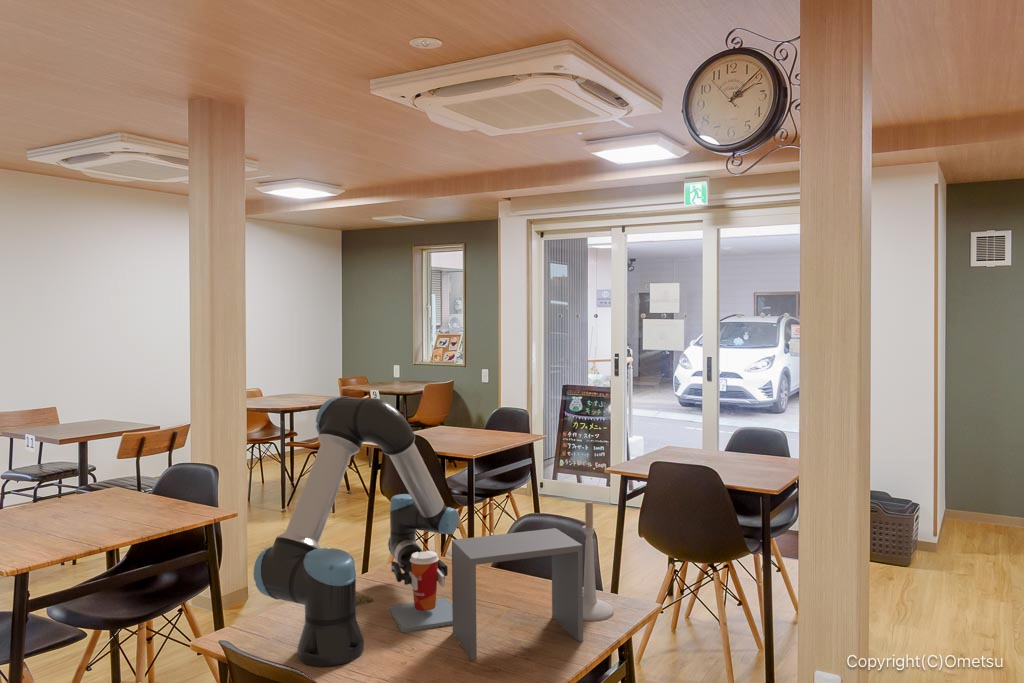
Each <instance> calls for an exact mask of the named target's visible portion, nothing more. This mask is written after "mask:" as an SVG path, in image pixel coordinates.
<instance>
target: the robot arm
mask: <svg viewBox="0 0 1024 683" xmlns="http://www.w3.org/2000/svg"><path fill="white" fill-rule="evenodd" d="M315 423H316V424H315V427H316V428H315V429H316V431H317V433H318V436H317V440H318V442H319V448H318V451H317V453H316V455H315V458H314V460H313V462H312V465H311V468H310V470H309V473H308V475H307V478H306V480H305V483H304V485H303V488H302V490H301V492H300V495H299V497H298V500H297V503H296V505H295V507H294V510H293V511H292V515H291V518H290V519H289V522H288V525H287V527H286V530H285V531H284V532H283V533H281V534H279V535H277V536H276V538H275V540H274V543H273V545H272V546H271V545H270V546H268V547H266V548H264V550H261V552H260V553H259V554H258V556H257V558H256V560H255V562H254V566H253V573H252V574H253V580H254V582H255V587H256V588H257V590H258V591H259V592H260V593H261V594H262V595H264V596H266V597H269V598H272V599H274V600H281V601H286V602H290V603H295V604H299V605H303V606H304V613H305V614H304V626H303V629H302V631H301V635H300V638H299V642H298V644H297V659H298V660H299V661H300V662H301V663H303V664H305V665H307V666H312V667H333V666H340V665H343V664H347V663H350V662H351V661H353V660H356V659H357V658H358V657H360V656H361V655H362V654H363V652H364V650H365V649H364V648H365V646H364V643H365V642H364V637H363V633H362V631H361V628H360V625H359V623H358V620H357V613H356V608H357V607H356V591H357V587H356V585H357V580H356V579H357V573H356V572H357V571H356V564H355V559H354V557H353V556H352V555H351V554H350V553H349V552H347V551H345V550H343V549H339V548H333V547H331V548H327V547H322V548H321V547H320V545H319V542H320V538H321V536H322V534H323V531H324V529H325V526H326V523H327V521H328V518H329V515H330V513H331V510H332V508H333V505H334V503H335V500H336V497H337V495H338V492H339V489H340V486H341V485H342V481H343V479H344V476H345V475H346V474H345V473H346V471H347V468H348V466H349V463H350V460H351V458H352V456H355V455H356V454H358V453H359V452H360V450H361V447H362V445H363V443H366V442H367V443H373V444H375V445H377V446H378V447H379V448H380V450H381V451H382V453H383V455H386V456H388V457H389V458H390V460H391V462H392V464H393V466H394V468H395V469H396V471H397V473H398V475H399V477H400V479H401V481H402V482H403V484H404V487H405V488H406V490H407V492H408V493H402V494H401V493H399V494H395V495H393V496H392V497H391V498H390V506H389V507H390V508H389V519H390V520H389V521H390V522H389V523H390V535H389V538H388V541H387V546H388V550H389V552H390V554H391V555H392V556H391V557H393V558H394V560H395V561H391V563H390V564H391V566H390V567H391V568H390V569H391V570H390V571H391V573H393V574H394V576H395V580H396V582H397V583H401V582H402V581H403V582H404V585H406V586H407V585H410V586H411V588H412V590H413V589H414V590H418V585H417V578H416V577H415V576H414V575H413V574H412V568H411V562H410V558H411V555H412V554H413V553H415V552H418V553H419V552H420V551H423V550H422V548H421V546H419V544H417V542H416V540H417V539H416V536H417V535H416V533H417V531H423V532H429V533H434V534H435V533H436V534H439V535H443V534H445V535H452V534H454V533H455V532H456V530H457V528H458V527H459V524H460V514H459V512H458V510H457V509H455V508H452V507H451V506H449V507H447V506H446V503H445V502H444V500H443V498H442V496H441V494H440V492H439V490H438V488H437V486H436V484H435V482H434V480H433V477H432V475H431V473H430V471H429V470H428V467H427V465H426V464H425V460H424V458H423V457H422V455H421V454H420V452H419V450H418V447H417V445H416V444H415V440H416V435H415V433H414V431H413V428H412V426H411V425H410V423H409V422H408V421H407V419H406V418H405V416H403V414H402V413H401V412H400V411H399V410H398V409H397V408H396V407H394V406H393V405H392V404H390V403H389V402H387V401H385V400H383V399H382V398H381V399H380V398H378V397H377V398H376V397H375V398H374V397H373V398H371V397H370V398H369V397H368V398H367V397H353V396H347V395H346V396H344V395H343V396H335V397H332V398H329V399H327V400H326V401H324V402H323V403H322V404H321V406H320V408H319V409H318V411H317V413H316V416H315ZM416 530H417V531H416ZM438 558H439V556H438ZM402 571H403V573H402ZM447 576H449V574H448V565H447V564H446V563H444V562H443V561H442V560H441V559H440V558H439V560H438V566H437V582H438V583H437V584H439V585H440V586H441V588H442V587H445V586H446V584H445V582H446V581H445V580H446V577H447Z"/></svg>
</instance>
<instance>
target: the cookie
mask: <svg viewBox="0 0 1024 683" xmlns="http://www.w3.org/2000/svg"><path fill="white" fill-rule="evenodd" d="M365 595H366V594H363V593H361V592H358V591H357V590H356V606H357V607H359V606H358V605H360V606H362V605H361V604H363V605H366V604H365V603H367V604H370V603H372V601H373V602H374V601H375V600H376V599H375V598H373V597H370V596H367V595H366V596H365ZM369 602H370V603H369ZM375 602H376V601H375Z"/></svg>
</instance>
